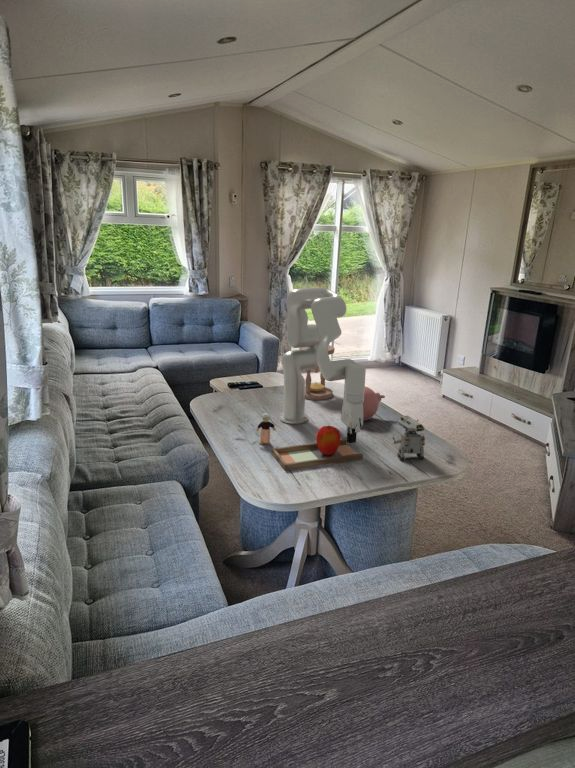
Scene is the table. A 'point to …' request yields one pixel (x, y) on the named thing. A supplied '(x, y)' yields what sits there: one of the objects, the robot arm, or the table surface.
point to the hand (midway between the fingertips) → (351, 442)
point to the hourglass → (317, 384)
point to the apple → (328, 440)
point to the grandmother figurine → (265, 429)
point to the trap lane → (312, 456)
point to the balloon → (370, 403)
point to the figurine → (410, 438)
